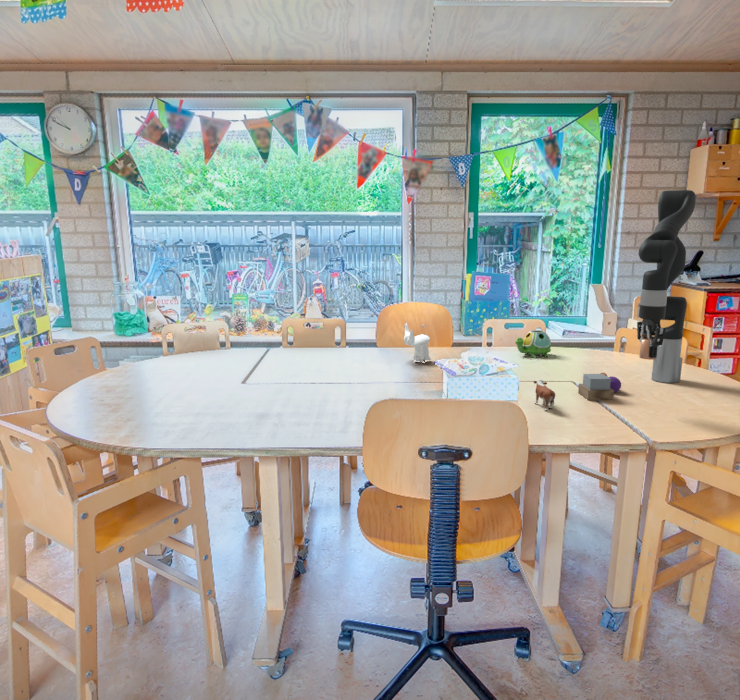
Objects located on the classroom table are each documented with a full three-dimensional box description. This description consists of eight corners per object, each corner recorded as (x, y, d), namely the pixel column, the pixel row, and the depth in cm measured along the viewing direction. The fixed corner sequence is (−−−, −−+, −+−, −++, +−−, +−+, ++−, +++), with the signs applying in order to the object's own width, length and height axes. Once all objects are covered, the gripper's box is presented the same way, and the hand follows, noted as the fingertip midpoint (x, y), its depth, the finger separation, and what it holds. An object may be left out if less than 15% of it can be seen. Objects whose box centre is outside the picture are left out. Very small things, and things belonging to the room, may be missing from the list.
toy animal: (402, 357, 264) (400, 323, 260) (427, 355, 264) (426, 321, 261) (407, 367, 244) (405, 329, 241) (434, 365, 245) (433, 328, 241)
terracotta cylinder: (651, 356, 180) (653, 338, 179) (659, 359, 175) (661, 341, 174) (636, 356, 180) (638, 338, 179) (643, 359, 175) (645, 341, 174)
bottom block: (602, 394, 200) (603, 383, 199) (613, 401, 191) (614, 390, 190) (578, 394, 200) (578, 383, 199) (587, 401, 191) (588, 390, 190)
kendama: (612, 371, 216) (624, 380, 197) (608, 385, 217) (620, 395, 198) (596, 367, 217) (607, 376, 198) (593, 382, 218) (603, 392, 199)
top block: (602, 384, 198) (603, 373, 197) (609, 389, 191) (610, 378, 190) (582, 384, 198) (583, 373, 197) (589, 389, 191) (590, 378, 190)
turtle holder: (508, 354, 267) (509, 330, 265) (542, 351, 271) (543, 328, 269) (520, 359, 256) (522, 334, 253) (555, 357, 260) (557, 332, 257)
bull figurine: (542, 400, 192) (543, 377, 190) (556, 412, 179) (558, 388, 177) (530, 400, 192) (531, 378, 190) (543, 412, 179) (544, 388, 177)
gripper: (677, 306, 167) (671, 360, 171) (653, 300, 181) (648, 350, 185) (652, 306, 167) (647, 360, 171) (630, 301, 181) (626, 351, 185)
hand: (648, 355), depth 178 cm, fingers closed on terracotta cylinder, 5 cm apart
